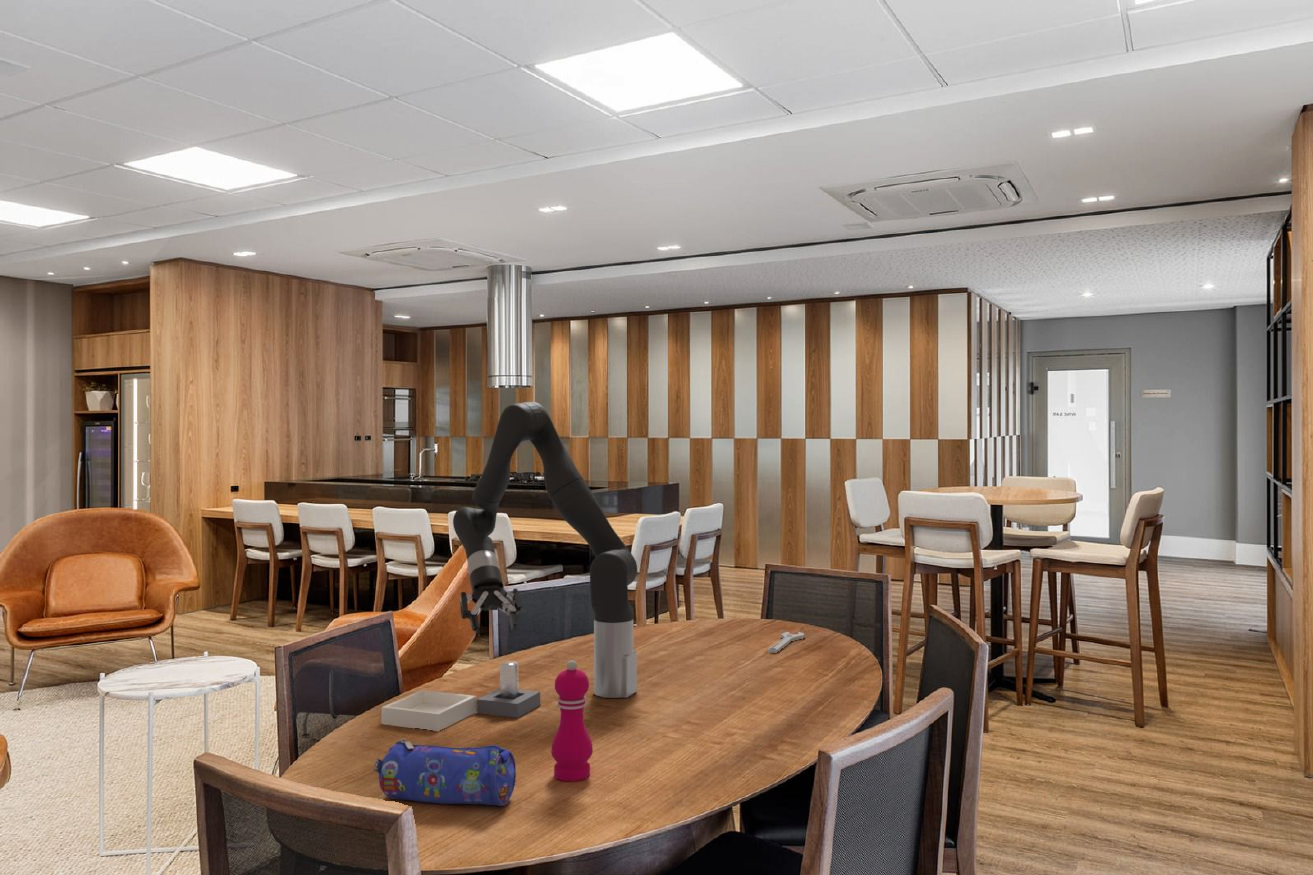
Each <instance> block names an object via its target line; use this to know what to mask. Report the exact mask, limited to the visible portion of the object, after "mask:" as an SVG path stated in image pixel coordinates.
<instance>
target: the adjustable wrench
mask: <svg viewBox="0 0 1313 875" xmlns="http://www.w3.org/2000/svg"><path fill="white" fill-rule="evenodd" d="M797 632H798V633H796V634H794V633H790V632H789V631H786V632H782V633H780V636H779V638H780V637H781V638H783V639H781V638H780V640H779V641H778V642H776V643H775V644H773V645H772V646H770V647H768V648H767V653H768V652H769V653H768V654H770V653H776V654H778V653H779V652H780V651H779V650H781V649H782V648H783V649H785V648H786V647H787V646H788V645H790V644H791V643H792V642H791V641H793V642H796V641H795V640H797V641H799V640H798V639H802V640H804V639H805V633H804V632H801V631H797ZM803 638H804V639H803ZM790 642H791V643H790ZM789 643H790V644H789ZM785 646H786V647H785ZM784 647H785V648H784ZM783 649H782V650H783ZM782 650H781V651H782ZM778 651H779V652H778ZM777 652H778V653H777Z"/></svg>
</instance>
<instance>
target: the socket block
mask: <svg viewBox="0 0 1313 875" xmlns="http://www.w3.org/2000/svg"><path fill="white" fill-rule="evenodd" d="M539 706H541V691H537V690H528V689H527V690H526V689H519V688H518V698H516V699H514V700H512V699H503V698H500V687H499V688H497V689H495V690H493V691H492V692H489V693H487V694H485V695H482V696H481V697H478V698H476V713H477V714H481V715H482V714H483V715H490V716H497V717H505V718H514V719H518V718H521V717H522V716H524V715H525V714H527V713H530V712H531V711H532V710H535V709H536V708H538V707H539Z"/></svg>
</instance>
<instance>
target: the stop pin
mask: <svg viewBox="0 0 1313 875" xmlns="http://www.w3.org/2000/svg"><path fill="white" fill-rule="evenodd" d="M499 688H500V698H503V699H512V700H514V699H516V698H518V689H519V662H518V661H513V660H509V661H507V660H506V661H503V662H500V663H499Z"/></svg>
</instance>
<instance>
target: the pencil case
mask: <svg viewBox="0 0 1313 875" xmlns="http://www.w3.org/2000/svg"><path fill="white" fill-rule="evenodd" d="M516 768H517V767H516V760H515V756H514V754H513V753H512V752H511V750H508V749H507V748H504V747H502V746H499V745H496V744H491V745H490V744H489V745H485V746H479V747H478V746H476V747H449V746H447V747H446V746H439V745H427V744H425V745H424V744H412V742H410V741H408V740H407V739H406V738H401V739H400V740H399V741H397V742H396V743H395V744H394V745H392V746H391V747H390V748H389V749H388V751H387V753H386V754H385V755H384V756H383V759H380V758H376V760H375V764H374V766H373V769H372V771H374V772H376V773H378V784H379V787H380V790H381V791H382V793H383V794H384V795H385V796H386V797H388V798H391V799H393V798H394V799H393V800H398V799H400V801H414V802H420V803H432V804H443V805H487V806H498V807H502V806H506V805H507V804H508V802H509V800H510V799H511V797H512V795H513V793H514V790H515V784H516V778H517V776H516V775H517V771H516Z"/></svg>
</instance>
